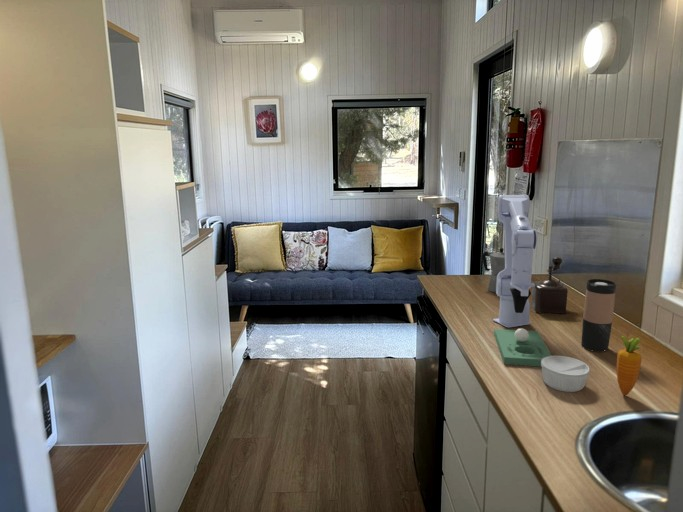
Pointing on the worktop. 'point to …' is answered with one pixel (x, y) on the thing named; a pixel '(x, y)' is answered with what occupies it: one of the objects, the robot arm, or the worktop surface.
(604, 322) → the travel mug
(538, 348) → the putting mat
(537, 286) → the manual coffee grinder
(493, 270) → the coffeepot
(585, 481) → the worktop surface
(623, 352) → the carrot
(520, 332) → the ball
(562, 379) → the ramekin
